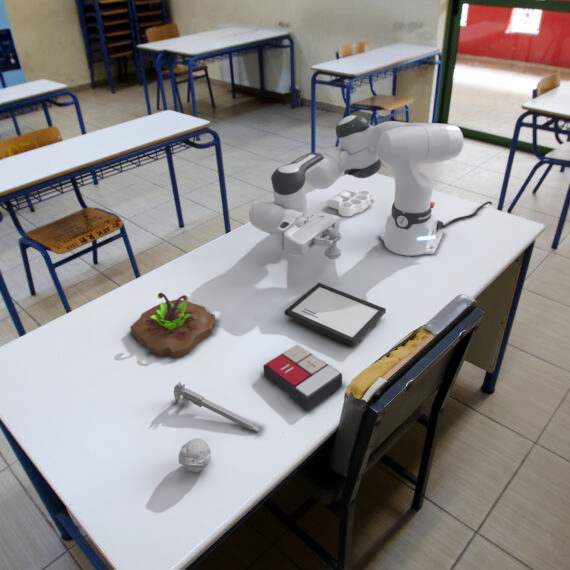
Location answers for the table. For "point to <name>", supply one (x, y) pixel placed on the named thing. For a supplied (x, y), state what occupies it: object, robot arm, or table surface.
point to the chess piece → (333, 246)
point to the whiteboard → (335, 313)
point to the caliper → (210, 406)
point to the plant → (173, 327)
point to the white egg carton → (350, 202)
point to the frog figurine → (195, 455)
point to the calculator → (303, 376)
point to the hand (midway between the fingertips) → (336, 240)
